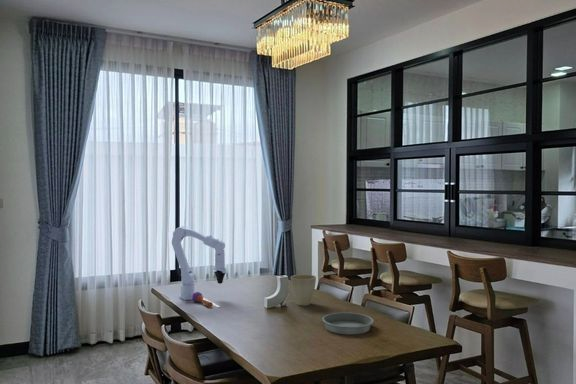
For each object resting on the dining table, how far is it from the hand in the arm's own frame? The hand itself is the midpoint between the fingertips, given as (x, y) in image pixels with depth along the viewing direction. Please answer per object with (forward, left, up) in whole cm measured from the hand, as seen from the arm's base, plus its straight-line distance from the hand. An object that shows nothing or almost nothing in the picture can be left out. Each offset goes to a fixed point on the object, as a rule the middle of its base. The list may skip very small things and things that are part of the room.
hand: (219, 283), depth 296 cm
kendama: (+7, -14, -10) cm, 18 cm away
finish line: (+6, -9, -9) cm, 14 cm away
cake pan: (+89, +27, -10) cm, 94 cm away
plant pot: (+39, +35, -10) cm, 53 cm away
